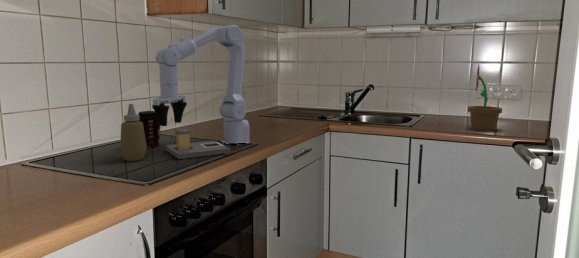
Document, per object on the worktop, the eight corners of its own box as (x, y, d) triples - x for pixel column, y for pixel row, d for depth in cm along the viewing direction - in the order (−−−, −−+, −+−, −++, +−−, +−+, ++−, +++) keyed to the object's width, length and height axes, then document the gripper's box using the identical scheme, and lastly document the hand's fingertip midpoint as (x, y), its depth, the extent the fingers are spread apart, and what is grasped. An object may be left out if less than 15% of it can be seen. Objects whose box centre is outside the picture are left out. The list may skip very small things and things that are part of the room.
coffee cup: (154, 143, 160) (153, 109, 158) (167, 146, 155) (166, 111, 153) (134, 147, 154) (132, 111, 152) (146, 150, 149) (144, 113, 146)
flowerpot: (467, 126, 203) (472, 63, 198) (500, 128, 197) (505, 64, 192) (465, 130, 190) (470, 64, 186) (500, 133, 184) (506, 64, 179)
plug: (187, 152, 145) (186, 129, 144) (190, 154, 142) (189, 130, 141) (176, 153, 143) (175, 130, 142) (179, 155, 140) (178, 131, 139)
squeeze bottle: (150, 156, 139) (147, 102, 136) (143, 162, 131) (139, 105, 128) (126, 156, 139) (122, 102, 136) (116, 162, 131) (113, 105, 128)
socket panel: (214, 145, 156) (214, 139, 156) (230, 154, 143) (230, 147, 142) (165, 150, 147) (165, 144, 147) (178, 160, 134) (177, 153, 133)
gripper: (173, 83, 149) (174, 120, 151) (144, 85, 136) (146, 126, 138) (189, 83, 146) (191, 121, 149) (162, 86, 133) (164, 128, 135)
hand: (170, 124), depth 143 cm, fingers open, 7 cm apart
